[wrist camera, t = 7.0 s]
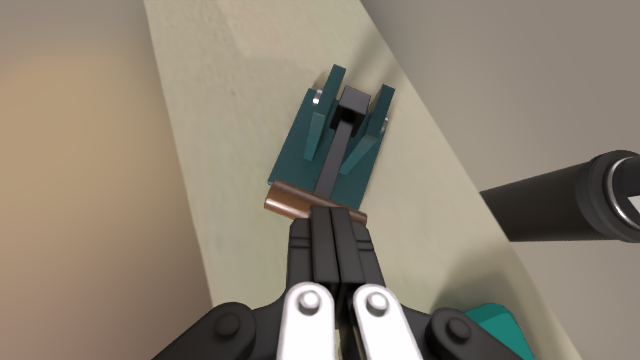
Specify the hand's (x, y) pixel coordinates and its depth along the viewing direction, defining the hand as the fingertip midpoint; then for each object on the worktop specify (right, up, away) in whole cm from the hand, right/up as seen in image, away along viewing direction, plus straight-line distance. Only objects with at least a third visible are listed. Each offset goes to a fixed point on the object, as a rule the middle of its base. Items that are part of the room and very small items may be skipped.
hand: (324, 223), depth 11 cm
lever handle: (+1, +3, +9) cm, 9 cm away
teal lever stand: (+1, +5, +21) cm, 21 cm away
